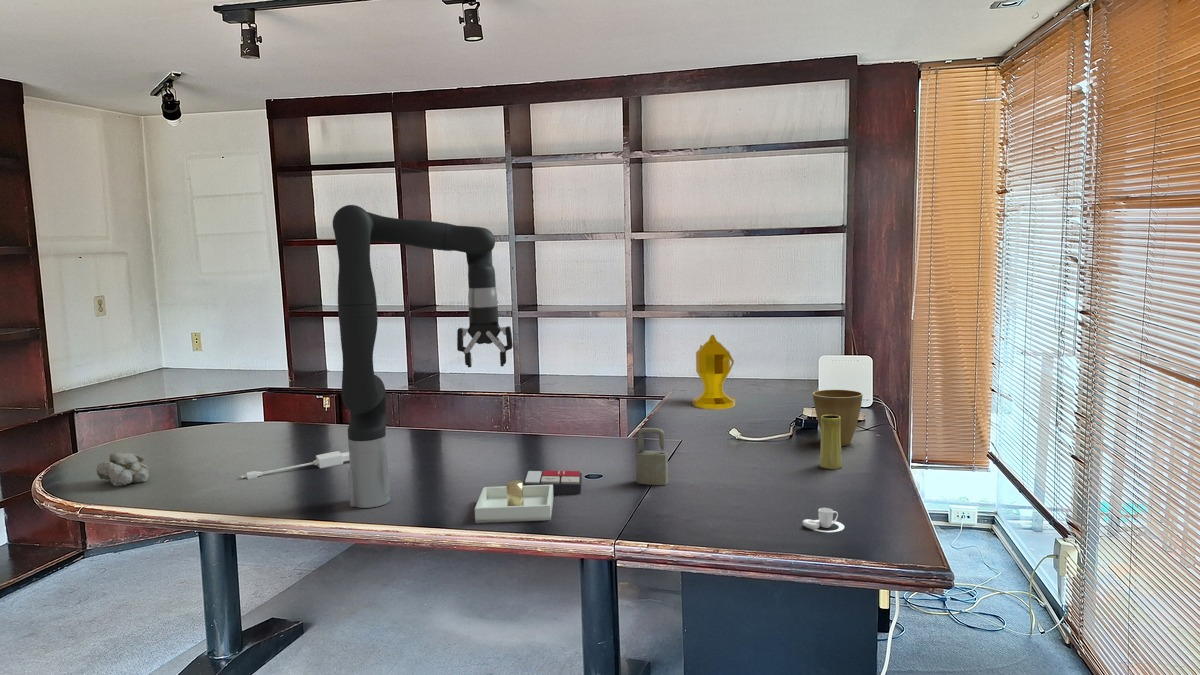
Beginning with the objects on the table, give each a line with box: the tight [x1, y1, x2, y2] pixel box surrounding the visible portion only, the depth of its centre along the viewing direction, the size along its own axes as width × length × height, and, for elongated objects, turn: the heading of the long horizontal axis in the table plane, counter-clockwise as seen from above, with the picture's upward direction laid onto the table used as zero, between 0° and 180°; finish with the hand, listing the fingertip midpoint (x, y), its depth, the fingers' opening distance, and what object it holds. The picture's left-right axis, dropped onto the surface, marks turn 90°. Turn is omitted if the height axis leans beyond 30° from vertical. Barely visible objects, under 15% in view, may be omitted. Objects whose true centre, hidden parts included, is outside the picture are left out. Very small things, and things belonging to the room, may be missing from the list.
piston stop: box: [506, 479, 524, 506], centre depth 189 cm, size 4×4×6 cm
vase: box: [819, 415, 843, 470], centre depth 217 cm, size 6×6×14 cm
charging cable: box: [240, 450, 350, 480], centre depth 233 cm, size 5×32×3 cm, turn 120°
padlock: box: [635, 427, 669, 486], centre depth 208 cm, size 4×8×15 cm, turn 70°
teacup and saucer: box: [802, 507, 845, 533], centre depth 172 cm, size 9×8×4 cm
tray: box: [474, 485, 554, 524], centre depth 190 cm, size 18×17×4 cm
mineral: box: [96, 451, 151, 487], centre depth 224 cm, size 12×17×10 cm
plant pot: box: [812, 389, 863, 447], centre depth 242 cm, size 15×15×16 cm
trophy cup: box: [691, 334, 736, 410], centre depth 308 cm, size 18×24×28 cm
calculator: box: [522, 470, 583, 496], centre depth 206 cm, size 11×4×15 cm
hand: (486, 366), depth 204 cm, fingers open, 8 cm apart
